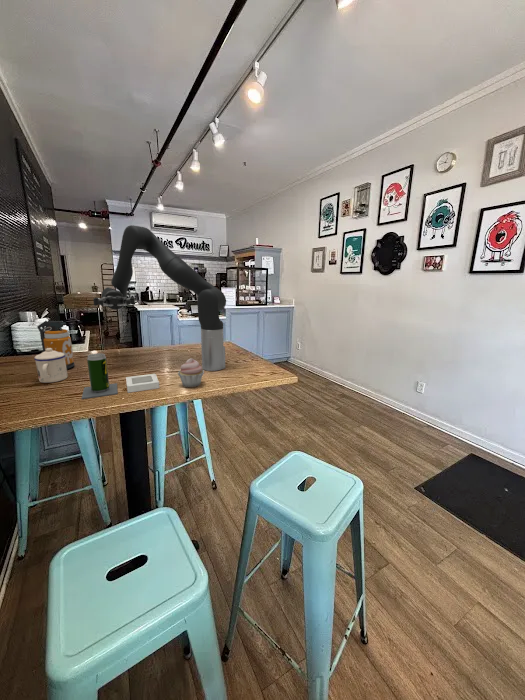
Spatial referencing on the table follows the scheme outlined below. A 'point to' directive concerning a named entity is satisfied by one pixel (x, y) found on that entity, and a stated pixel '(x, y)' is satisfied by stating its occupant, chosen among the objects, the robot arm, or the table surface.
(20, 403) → the table surface
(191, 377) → the cupcake
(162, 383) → the table surface
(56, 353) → the teacup with lid
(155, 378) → the collar
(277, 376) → the table surface
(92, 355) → the beer can
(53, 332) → the canister
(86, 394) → the mat
